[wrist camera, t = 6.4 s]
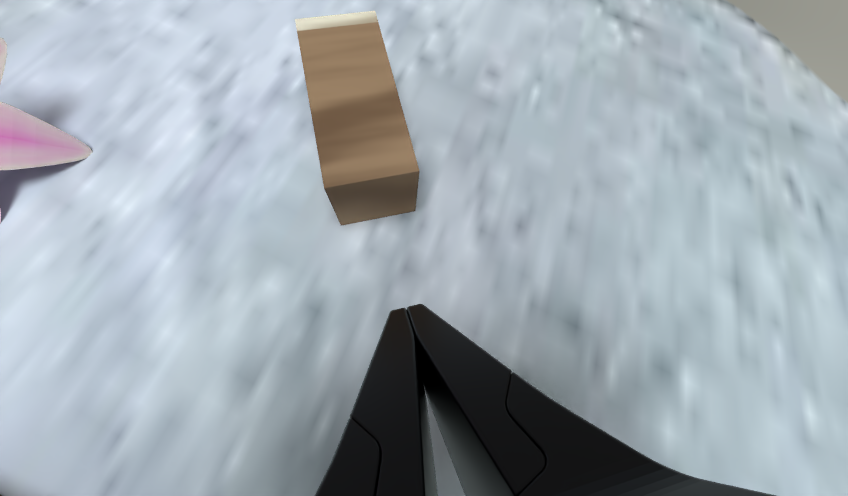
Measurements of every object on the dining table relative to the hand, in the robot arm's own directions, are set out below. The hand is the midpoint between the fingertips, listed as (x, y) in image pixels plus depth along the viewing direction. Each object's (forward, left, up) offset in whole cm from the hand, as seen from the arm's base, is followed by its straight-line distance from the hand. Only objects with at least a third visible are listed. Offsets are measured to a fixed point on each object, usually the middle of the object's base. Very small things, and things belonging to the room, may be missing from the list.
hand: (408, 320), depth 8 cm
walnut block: (+7, -5, -9) cm, 12 cm away
